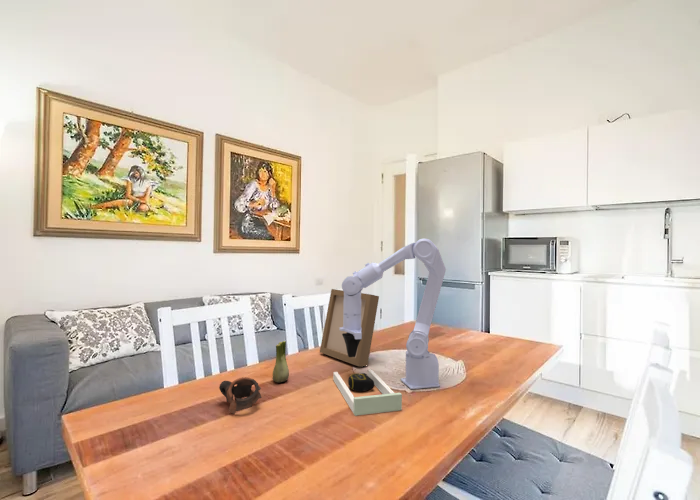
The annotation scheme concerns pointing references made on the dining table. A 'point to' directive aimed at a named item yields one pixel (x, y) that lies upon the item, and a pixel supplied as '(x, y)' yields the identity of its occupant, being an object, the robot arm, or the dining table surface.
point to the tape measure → (360, 382)
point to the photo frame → (333, 336)
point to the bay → (370, 397)
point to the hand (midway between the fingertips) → (351, 356)
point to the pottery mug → (240, 393)
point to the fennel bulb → (280, 364)
